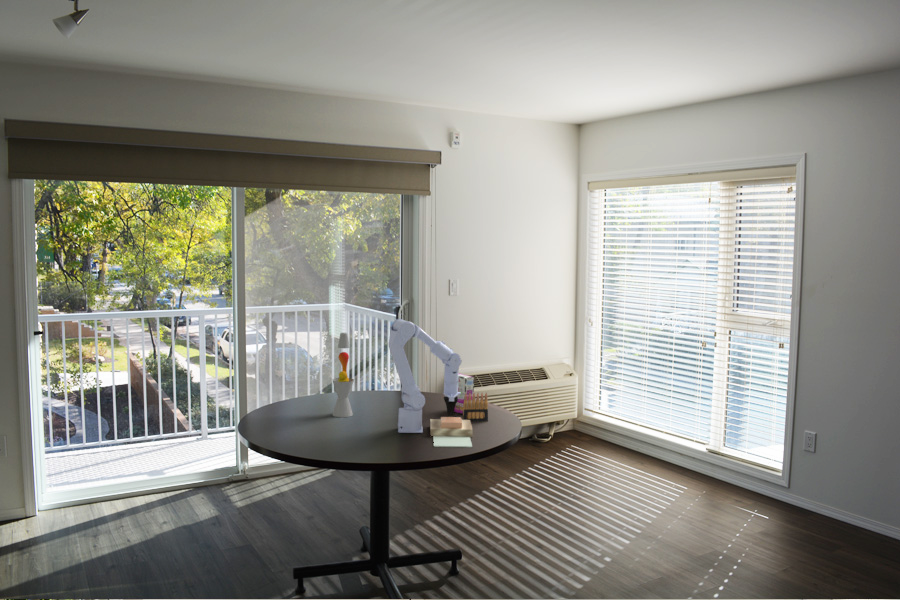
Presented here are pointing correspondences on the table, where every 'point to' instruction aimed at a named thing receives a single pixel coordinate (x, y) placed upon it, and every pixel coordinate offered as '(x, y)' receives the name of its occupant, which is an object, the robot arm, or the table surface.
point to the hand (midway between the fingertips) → (450, 414)
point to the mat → (451, 441)
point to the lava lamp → (343, 382)
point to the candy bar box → (464, 391)
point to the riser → (450, 429)
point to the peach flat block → (451, 422)
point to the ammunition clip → (473, 412)
